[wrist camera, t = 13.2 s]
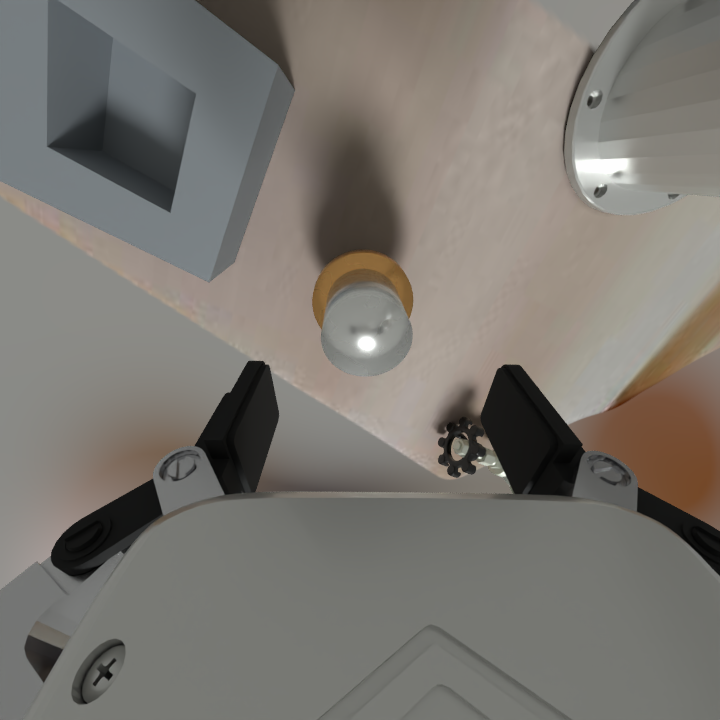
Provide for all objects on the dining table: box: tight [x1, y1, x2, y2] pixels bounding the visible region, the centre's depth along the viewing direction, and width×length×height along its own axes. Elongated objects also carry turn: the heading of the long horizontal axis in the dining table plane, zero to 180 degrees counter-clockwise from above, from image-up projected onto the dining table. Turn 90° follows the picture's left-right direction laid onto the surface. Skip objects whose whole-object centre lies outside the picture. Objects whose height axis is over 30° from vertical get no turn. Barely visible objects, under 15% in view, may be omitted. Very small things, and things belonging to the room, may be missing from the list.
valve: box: [438, 417, 514, 494], centre depth 33 cm, size 7×7×12 cm
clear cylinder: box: [312, 250, 413, 376], centre depth 20 cm, size 7×7×10 cm
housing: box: [0, 0, 295, 282], centre depth 16 cm, size 12×12×5 cm
